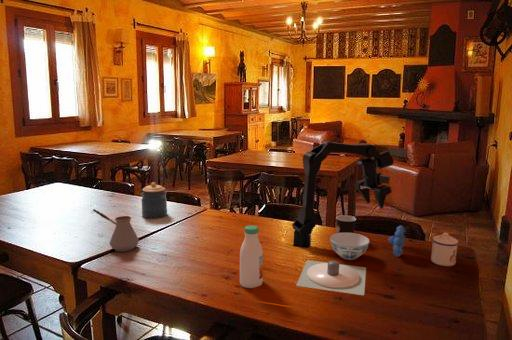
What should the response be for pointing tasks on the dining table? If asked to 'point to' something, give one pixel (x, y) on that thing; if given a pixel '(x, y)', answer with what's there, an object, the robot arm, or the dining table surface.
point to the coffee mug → (345, 224)
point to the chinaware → (349, 245)
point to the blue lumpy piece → (398, 240)
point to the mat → (355, 289)
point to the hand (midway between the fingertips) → (375, 205)
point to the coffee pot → (122, 233)
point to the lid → (333, 275)
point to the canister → (154, 201)
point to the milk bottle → (251, 259)
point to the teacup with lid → (444, 250)
